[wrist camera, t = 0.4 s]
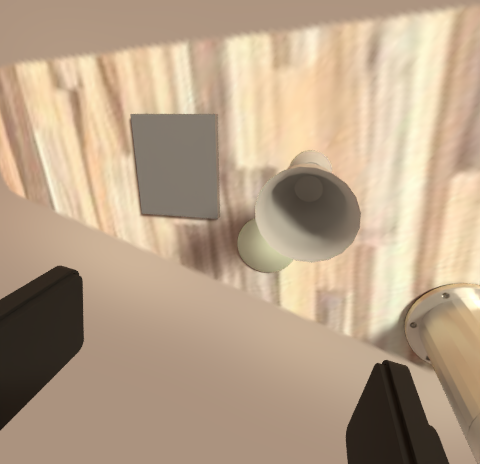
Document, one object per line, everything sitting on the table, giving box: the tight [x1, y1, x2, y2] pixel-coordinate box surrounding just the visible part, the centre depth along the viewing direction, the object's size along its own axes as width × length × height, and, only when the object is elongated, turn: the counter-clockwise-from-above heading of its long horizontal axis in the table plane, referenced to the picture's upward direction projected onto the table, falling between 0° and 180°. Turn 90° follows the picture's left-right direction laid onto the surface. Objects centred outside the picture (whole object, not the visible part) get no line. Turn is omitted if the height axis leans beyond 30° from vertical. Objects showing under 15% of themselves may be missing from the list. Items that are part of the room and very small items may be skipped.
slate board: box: [131, 114, 220, 219], centre depth 42 cm, size 11×13×1 cm
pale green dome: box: [237, 218, 293, 273], centre depth 43 cm, size 8×8×1 cm
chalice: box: [255, 150, 361, 262], centre depth 30 cm, size 7×7×18 cm
